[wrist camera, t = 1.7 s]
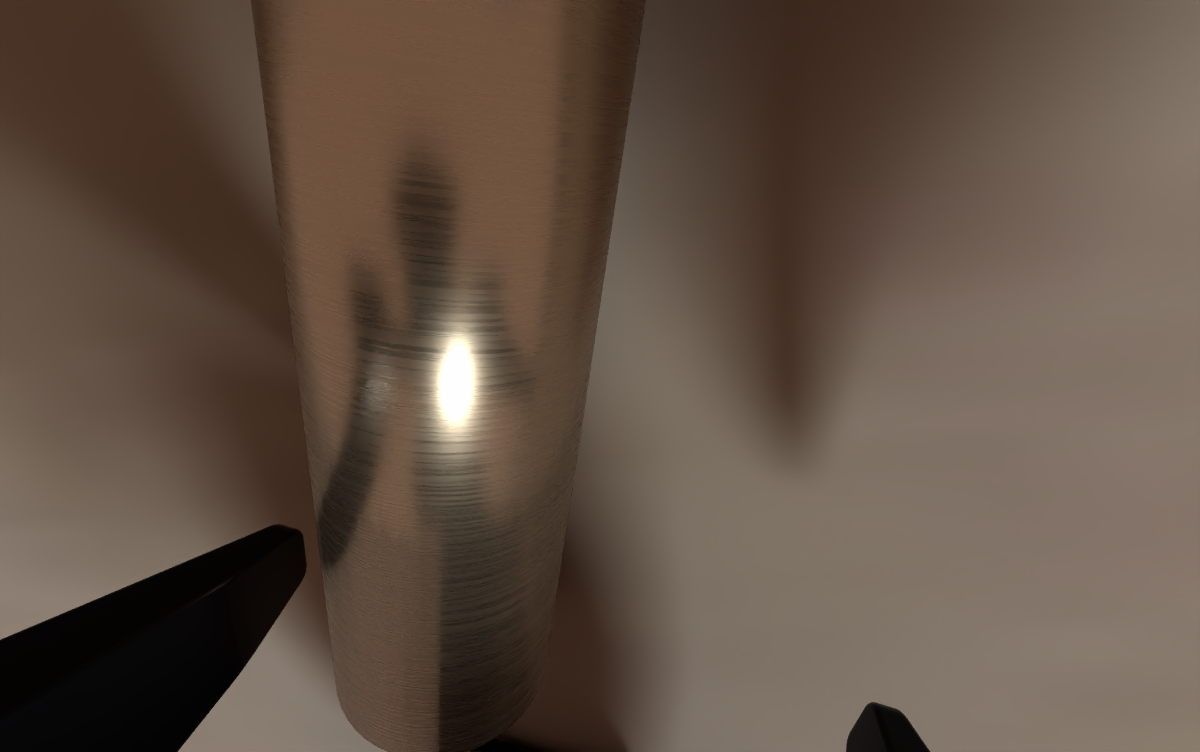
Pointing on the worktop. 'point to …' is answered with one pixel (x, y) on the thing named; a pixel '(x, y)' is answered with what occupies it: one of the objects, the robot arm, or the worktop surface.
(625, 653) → the worktop surface
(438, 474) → the tube
